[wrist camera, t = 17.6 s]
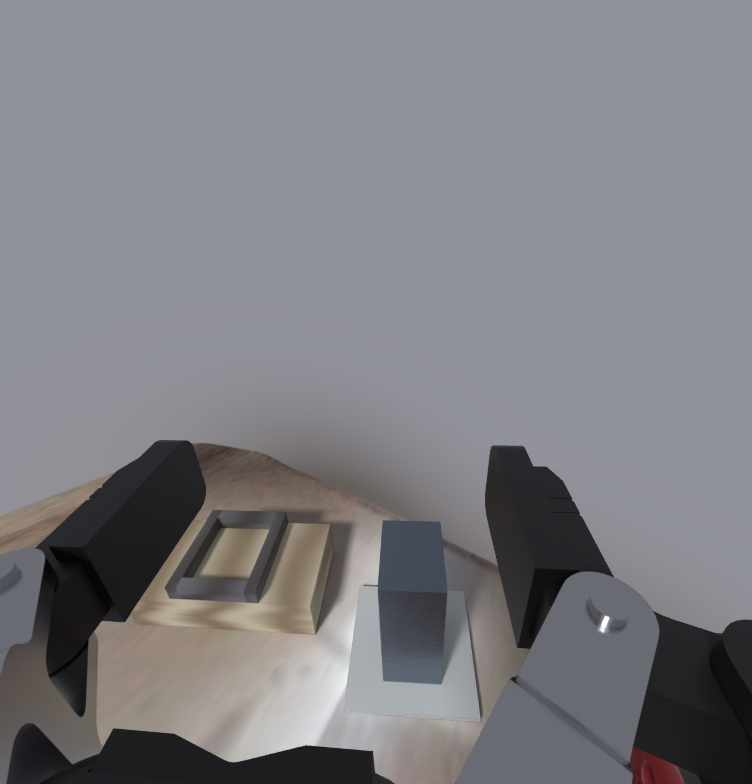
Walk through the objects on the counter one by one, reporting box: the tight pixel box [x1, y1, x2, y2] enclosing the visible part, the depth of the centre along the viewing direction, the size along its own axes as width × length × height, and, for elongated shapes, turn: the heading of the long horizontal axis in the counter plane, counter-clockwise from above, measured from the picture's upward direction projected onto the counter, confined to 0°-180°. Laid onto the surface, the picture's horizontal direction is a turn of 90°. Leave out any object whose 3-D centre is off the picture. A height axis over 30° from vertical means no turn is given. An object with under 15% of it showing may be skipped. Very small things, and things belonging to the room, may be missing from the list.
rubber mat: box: [344, 586, 481, 722], centre depth 33 cm, size 10×10×1 cm
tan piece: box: [131, 510, 334, 634], centre depth 37 cm, size 17×9×6 cm, turn 85°
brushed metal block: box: [378, 521, 447, 685], centre depth 30 cm, size 4×6×11 cm
